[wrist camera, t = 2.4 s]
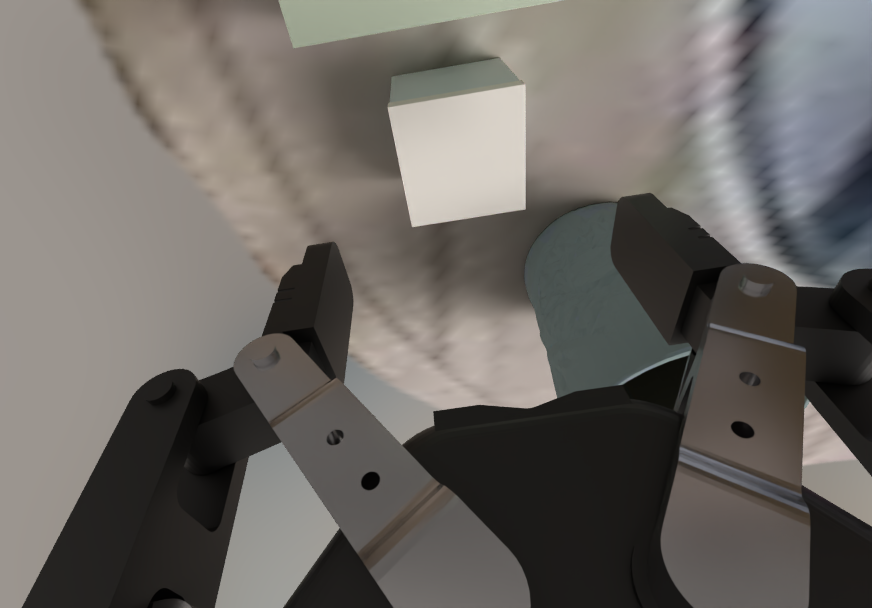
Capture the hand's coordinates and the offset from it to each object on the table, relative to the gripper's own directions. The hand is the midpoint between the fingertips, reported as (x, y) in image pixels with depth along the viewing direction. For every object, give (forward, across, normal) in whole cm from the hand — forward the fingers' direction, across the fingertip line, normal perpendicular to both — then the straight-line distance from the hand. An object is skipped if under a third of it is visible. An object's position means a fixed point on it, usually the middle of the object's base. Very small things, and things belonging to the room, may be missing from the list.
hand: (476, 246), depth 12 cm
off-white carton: (+11, 0, 0) cm, 11 cm away
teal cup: (+12, -8, +10) cm, 17 cm away
